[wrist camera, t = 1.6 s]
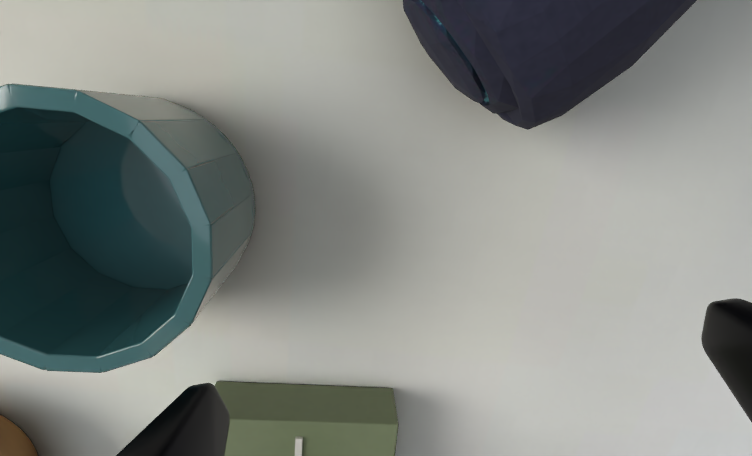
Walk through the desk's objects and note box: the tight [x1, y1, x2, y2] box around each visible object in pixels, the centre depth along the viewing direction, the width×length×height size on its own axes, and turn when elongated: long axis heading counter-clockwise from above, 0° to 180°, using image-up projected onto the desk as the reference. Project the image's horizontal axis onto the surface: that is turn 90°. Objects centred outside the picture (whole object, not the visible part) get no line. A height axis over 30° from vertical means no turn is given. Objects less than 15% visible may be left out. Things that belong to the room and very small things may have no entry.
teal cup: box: [0, 84, 255, 373], centre depth 17 cm, size 10×10×7 cm
